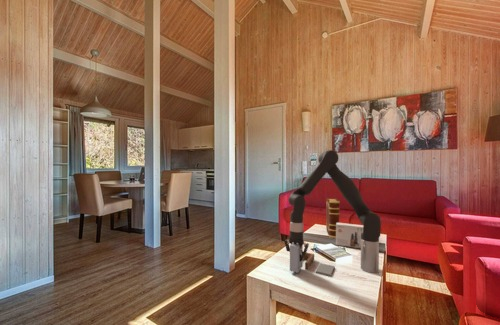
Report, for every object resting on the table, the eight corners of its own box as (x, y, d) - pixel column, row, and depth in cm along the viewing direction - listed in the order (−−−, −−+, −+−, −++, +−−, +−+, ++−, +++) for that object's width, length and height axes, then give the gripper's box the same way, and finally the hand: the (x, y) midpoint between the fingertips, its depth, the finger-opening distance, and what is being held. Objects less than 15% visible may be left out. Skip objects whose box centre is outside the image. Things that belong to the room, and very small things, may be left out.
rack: (314, 260, 145) (314, 253, 145) (307, 270, 131) (307, 263, 131) (297, 256, 150) (297, 250, 150) (289, 266, 136) (290, 259, 136)
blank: (302, 266, 133) (302, 242, 133) (297, 272, 125) (297, 246, 125) (294, 264, 135) (295, 240, 135) (289, 270, 127) (289, 245, 127)
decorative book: (339, 238, 188) (340, 201, 188) (329, 237, 190) (329, 201, 190) (335, 230, 210) (335, 197, 210) (326, 229, 212) (326, 197, 212)
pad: (334, 267, 135) (334, 266, 135) (330, 276, 124) (330, 274, 124) (320, 264, 138) (320, 263, 138) (315, 272, 128) (315, 271, 128)
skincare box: (335, 245, 172) (336, 224, 172) (336, 242, 177) (336, 222, 177) (367, 249, 164) (367, 227, 164) (366, 246, 169) (366, 225, 169)
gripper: (310, 229, 130) (310, 260, 130) (286, 226, 137) (286, 255, 137) (307, 233, 123) (307, 265, 123) (282, 229, 130) (281, 259, 130)
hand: (296, 259), depth 130 cm, fingers closed on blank, 4 cm apart
